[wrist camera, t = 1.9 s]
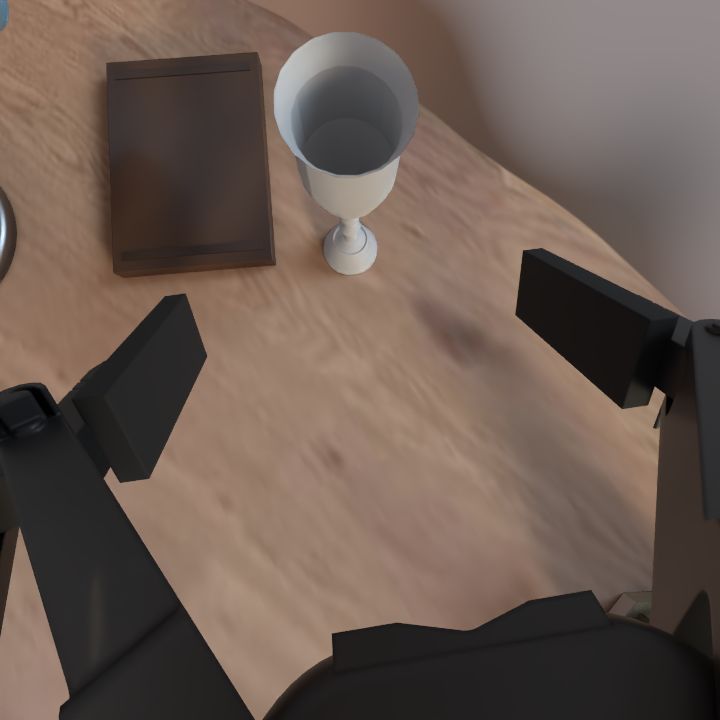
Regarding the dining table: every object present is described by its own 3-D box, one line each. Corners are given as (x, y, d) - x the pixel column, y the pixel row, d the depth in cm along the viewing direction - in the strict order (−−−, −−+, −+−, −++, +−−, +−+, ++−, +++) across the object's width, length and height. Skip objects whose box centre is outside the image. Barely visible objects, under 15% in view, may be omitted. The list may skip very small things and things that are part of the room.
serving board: (123, 278, 36) (112, 272, 34) (115, 75, 37) (105, 61, 36) (275, 265, 36) (272, 259, 34) (261, 65, 38) (257, 51, 36)
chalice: (308, 216, 36) (262, 42, 18) (379, 205, 36) (403, 22, 19) (320, 292, 36) (286, 188, 18) (393, 280, 36) (432, 165, 18)
